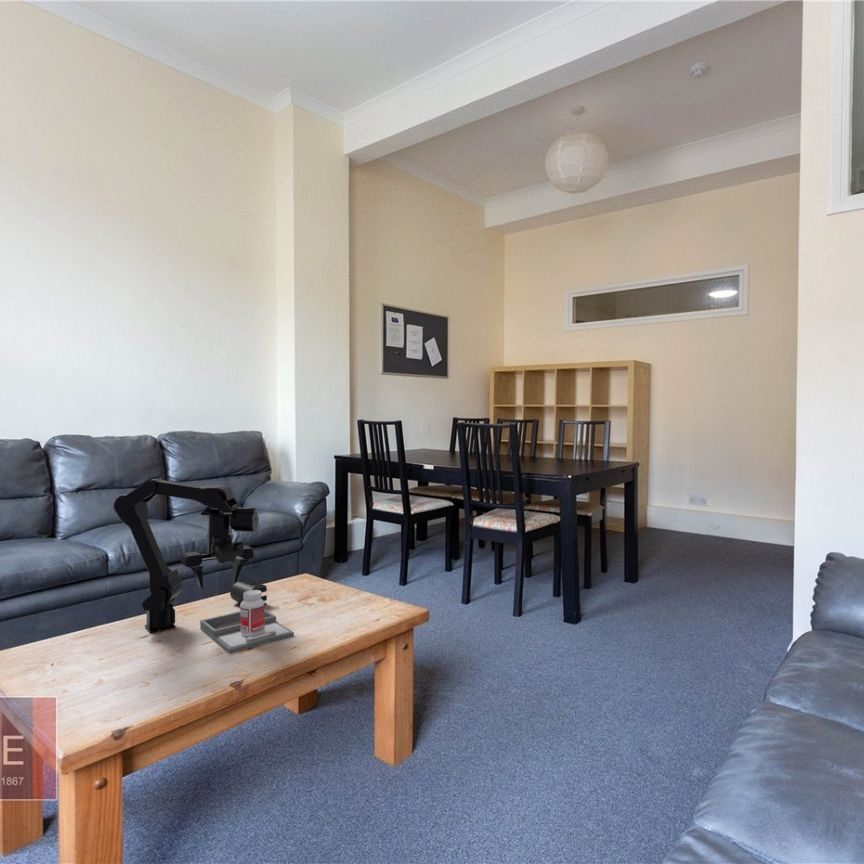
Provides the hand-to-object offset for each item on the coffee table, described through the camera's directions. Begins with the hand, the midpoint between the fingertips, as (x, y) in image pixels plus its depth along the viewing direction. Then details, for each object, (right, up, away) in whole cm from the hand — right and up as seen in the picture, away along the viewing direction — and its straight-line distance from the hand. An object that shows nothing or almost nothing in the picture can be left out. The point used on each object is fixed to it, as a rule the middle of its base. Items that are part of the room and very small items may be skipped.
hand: (218, 586), depth 159 cm
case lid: (+13, -12, -8) cm, 19 cm away
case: (+6, -12, +1) cm, 13 cm away
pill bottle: (+12, -11, -7) cm, 18 cm away
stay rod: (+15, -11, -11) cm, 21 cm away
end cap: (+2, -12, +20) cm, 23 cm away
